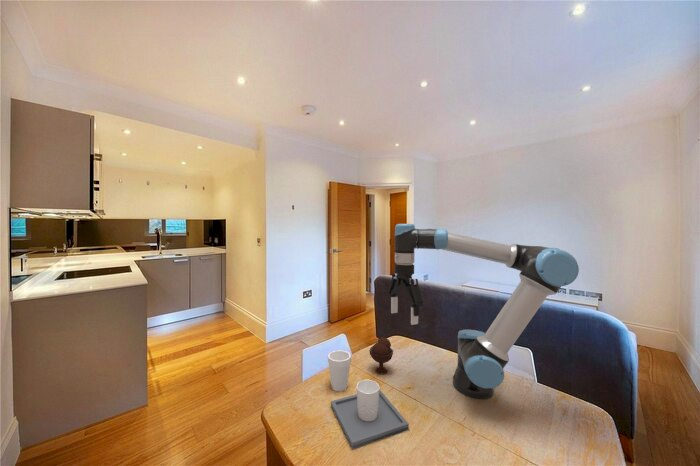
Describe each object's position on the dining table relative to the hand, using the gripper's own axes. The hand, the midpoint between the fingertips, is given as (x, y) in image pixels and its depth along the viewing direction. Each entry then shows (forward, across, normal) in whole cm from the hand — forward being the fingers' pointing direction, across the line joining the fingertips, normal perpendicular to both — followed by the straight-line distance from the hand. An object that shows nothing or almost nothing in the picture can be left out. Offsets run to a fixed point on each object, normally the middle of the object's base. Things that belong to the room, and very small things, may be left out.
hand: (403, 318), depth 101 cm
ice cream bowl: (+31, -19, +1) cm, 36 cm away
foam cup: (+31, -15, -21) cm, 40 cm away
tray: (+31, +5, -18) cm, 36 cm away
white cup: (+30, +5, -18) cm, 35 cm away
